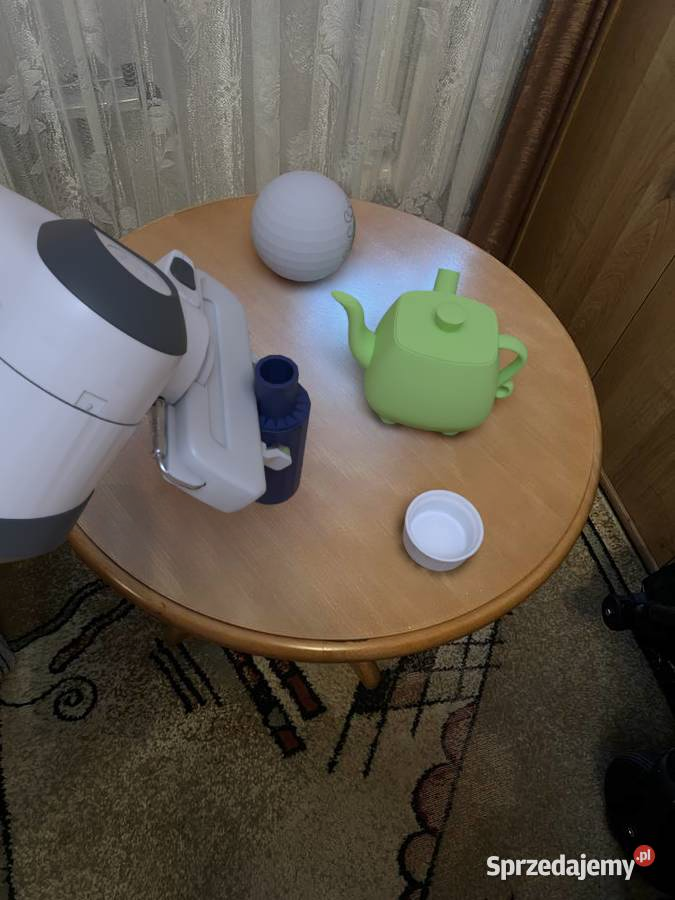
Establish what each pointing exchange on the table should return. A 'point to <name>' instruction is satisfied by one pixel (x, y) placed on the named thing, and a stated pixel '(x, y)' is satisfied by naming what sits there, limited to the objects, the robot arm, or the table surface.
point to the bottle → (281, 422)
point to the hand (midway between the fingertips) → (280, 423)
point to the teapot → (433, 358)
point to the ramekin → (441, 530)
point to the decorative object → (303, 225)
